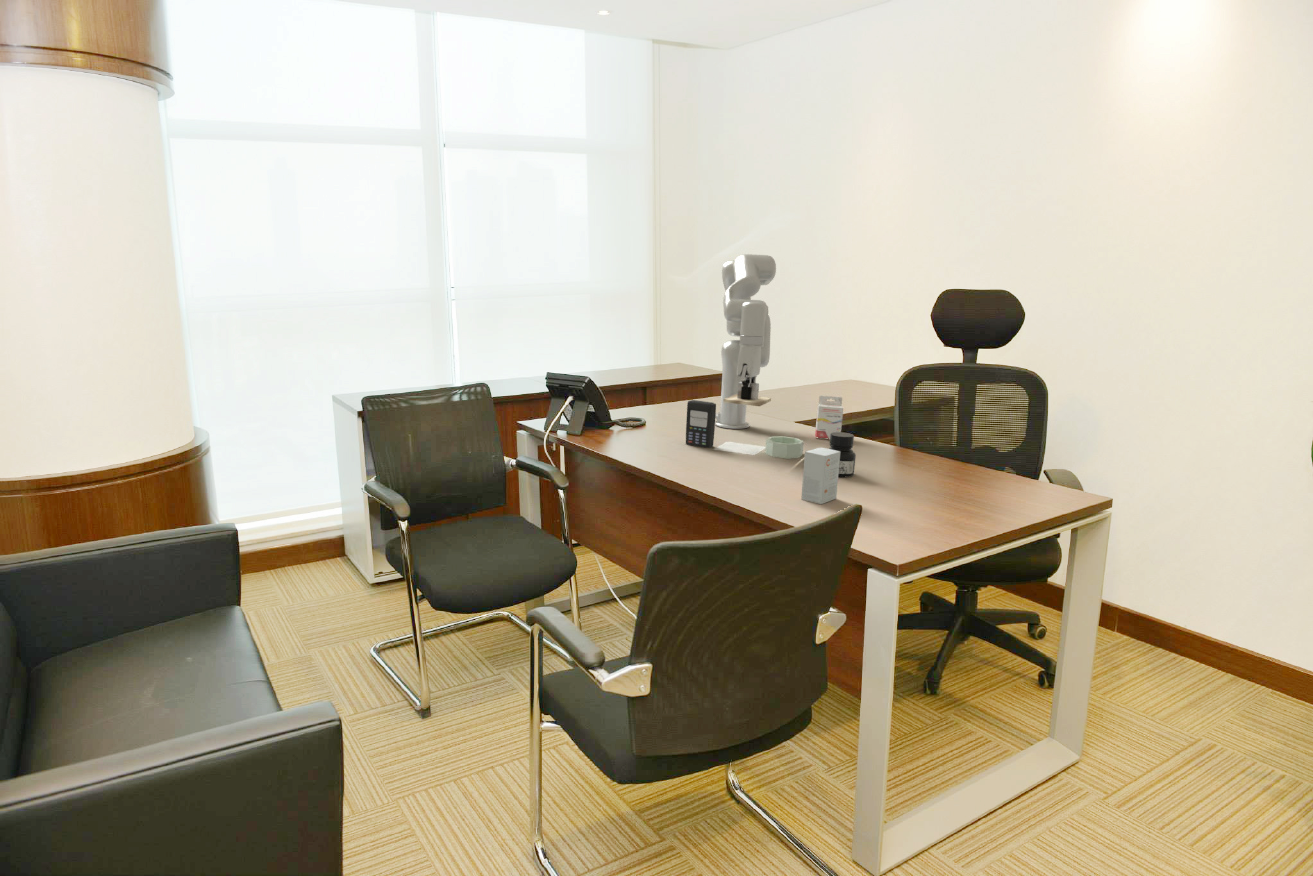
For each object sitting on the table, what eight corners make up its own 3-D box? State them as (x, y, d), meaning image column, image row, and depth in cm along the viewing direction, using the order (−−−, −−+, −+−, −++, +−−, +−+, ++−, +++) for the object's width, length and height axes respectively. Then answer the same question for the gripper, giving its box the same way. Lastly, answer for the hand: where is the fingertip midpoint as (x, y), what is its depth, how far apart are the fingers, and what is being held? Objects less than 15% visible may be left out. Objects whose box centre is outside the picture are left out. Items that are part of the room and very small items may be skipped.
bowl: (762, 456, 271) (763, 441, 270) (771, 449, 281) (772, 435, 280) (796, 461, 267) (797, 445, 266) (804, 454, 277) (806, 439, 276)
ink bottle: (819, 475, 251) (823, 435, 249) (824, 468, 259) (828, 430, 257) (853, 479, 248) (857, 439, 245) (857, 473, 256) (861, 433, 254)
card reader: (683, 445, 281) (685, 400, 278) (688, 443, 285) (691, 399, 282) (709, 449, 277) (711, 404, 274) (714, 447, 281) (716, 402, 277)
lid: (723, 402, 273) (724, 383, 271) (735, 397, 283) (737, 379, 282) (759, 406, 268) (760, 387, 267) (770, 401, 279) (772, 382, 277)
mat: (712, 450, 276) (713, 449, 276) (727, 442, 289) (727, 441, 288) (754, 456, 271) (754, 455, 270) (767, 448, 283) (767, 446, 283)
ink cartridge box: (815, 438, 302) (819, 397, 299) (814, 435, 307) (818, 395, 304) (840, 440, 301) (844, 399, 298) (839, 437, 306) (842, 396, 303)
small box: (815, 493, 231) (820, 446, 228) (836, 498, 227) (841, 451, 225) (800, 499, 225) (804, 451, 222) (821, 504, 221) (826, 455, 218)
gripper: (748, 338, 280) (744, 393, 284) (731, 342, 266) (728, 400, 270) (770, 340, 277) (766, 396, 281) (754, 344, 263) (750, 403, 267)
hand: (747, 397), depth 275 cm, fingers closed on lid, 3 cm apart
